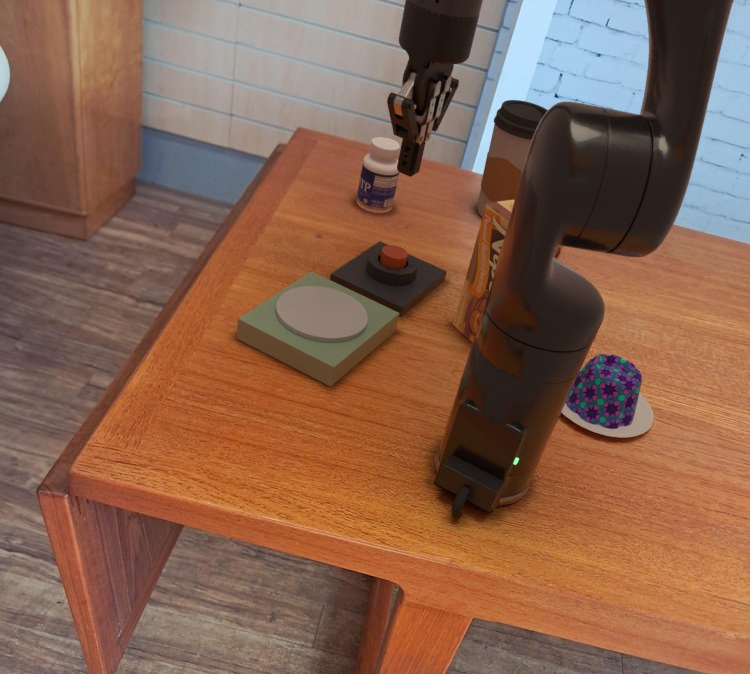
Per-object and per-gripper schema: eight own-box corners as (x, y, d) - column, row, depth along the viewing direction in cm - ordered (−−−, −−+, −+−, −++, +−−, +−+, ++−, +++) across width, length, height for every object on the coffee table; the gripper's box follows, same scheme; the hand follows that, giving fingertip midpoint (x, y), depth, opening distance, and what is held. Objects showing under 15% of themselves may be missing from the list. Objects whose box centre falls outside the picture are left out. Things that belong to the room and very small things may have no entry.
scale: (330, 387, 80) (335, 362, 78) (236, 338, 83) (238, 313, 81) (395, 331, 90) (400, 308, 88) (308, 289, 93) (311, 266, 90)
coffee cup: (531, 217, 119) (566, 114, 108) (509, 234, 113) (543, 128, 103) (484, 196, 121) (513, 94, 110) (459, 212, 115) (488, 105, 105)
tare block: (400, 317, 92) (405, 295, 90) (329, 284, 94) (332, 261, 92) (444, 281, 100) (450, 259, 98) (377, 250, 102) (382, 229, 100)
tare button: (397, 273, 94) (400, 261, 93) (374, 262, 95) (377, 251, 94) (409, 263, 96) (412, 252, 95) (387, 253, 97) (390, 242, 96)
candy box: (523, 360, 90) (569, 237, 80) (495, 368, 88) (540, 243, 77) (476, 319, 95) (514, 197, 84) (449, 325, 93) (485, 201, 82)
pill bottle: (351, 196, 112) (361, 133, 106) (385, 197, 114) (397, 135, 108) (361, 214, 109) (373, 150, 103) (396, 215, 111) (410, 152, 105)
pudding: (558, 360, 92) (574, 322, 88) (657, 398, 90) (677, 361, 86) (534, 415, 83) (551, 375, 80) (642, 457, 81) (665, 419, 78)
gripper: (448, 22, 72) (408, 201, 84) (503, 4, 81) (460, 169, 93) (379, -4, 74) (350, 176, 86) (440, -18, 83) (406, 146, 95)
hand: (407, 172), depth 90 cm, fingers closed
